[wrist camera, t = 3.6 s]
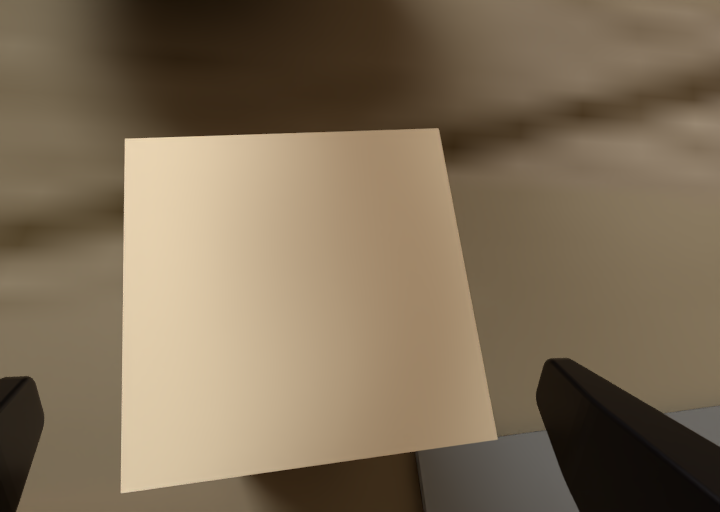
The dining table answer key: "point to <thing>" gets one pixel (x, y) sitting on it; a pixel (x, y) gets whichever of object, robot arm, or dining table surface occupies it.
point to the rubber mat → (515, 471)
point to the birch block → (292, 305)
